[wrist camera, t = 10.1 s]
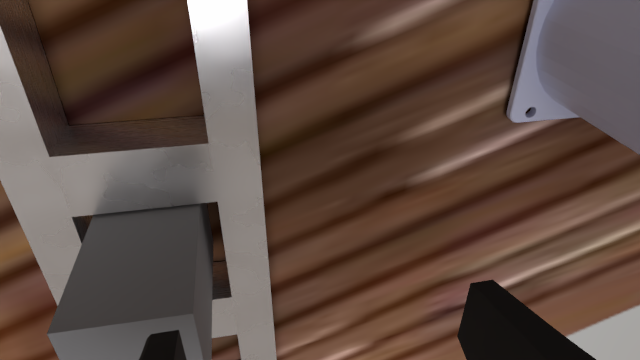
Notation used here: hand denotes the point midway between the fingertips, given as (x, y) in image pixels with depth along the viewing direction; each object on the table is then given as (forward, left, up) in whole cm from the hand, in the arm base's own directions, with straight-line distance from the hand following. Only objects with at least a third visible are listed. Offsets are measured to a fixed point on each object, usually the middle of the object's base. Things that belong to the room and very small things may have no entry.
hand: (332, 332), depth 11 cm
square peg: (+6, +3, -10) cm, 12 cm away
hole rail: (+6, +4, -10) cm, 12 cm away
